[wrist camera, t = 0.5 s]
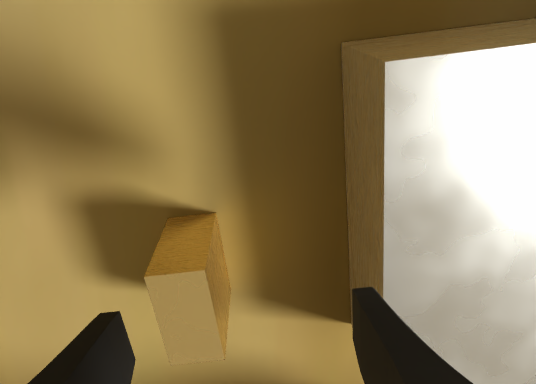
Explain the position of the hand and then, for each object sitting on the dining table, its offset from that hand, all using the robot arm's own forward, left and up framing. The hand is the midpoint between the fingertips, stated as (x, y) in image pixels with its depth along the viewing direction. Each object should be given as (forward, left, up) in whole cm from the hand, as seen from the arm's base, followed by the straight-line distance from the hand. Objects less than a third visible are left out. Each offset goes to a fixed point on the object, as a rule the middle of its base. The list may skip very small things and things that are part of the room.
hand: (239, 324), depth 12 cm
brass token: (-3, +3, -9) cm, 10 cm away
